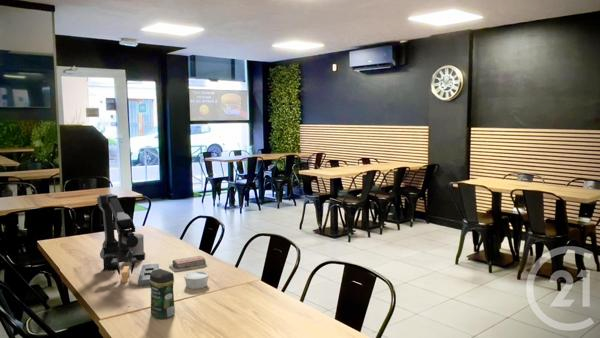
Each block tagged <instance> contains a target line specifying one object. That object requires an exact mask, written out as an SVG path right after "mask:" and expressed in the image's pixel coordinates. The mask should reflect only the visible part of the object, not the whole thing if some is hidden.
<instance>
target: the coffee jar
mask: <svg viewBox="0 0 600 338" xmlns="http://www.w3.org/2000/svg"><path fill="white" fill-rule="evenodd" d="M174 283H175V277H174V273H173V272H171V271H169V270H165V269H161V268H159V269H157V270H153V271H152V272H151V273H150V315H151V316H153V317H155V318H156V319H159V320H163V319H169V318H171V317H173V316H174V315H175V313H176V309H175V297H174Z"/></svg>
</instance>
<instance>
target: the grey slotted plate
mask: <svg viewBox="0 0 600 338" xmlns="http://www.w3.org/2000/svg"><path fill="white" fill-rule="evenodd" d="M159 267H160V264H159V263H150V264H142V266H141V269H140V273H139V276H138V279H137V287H147V286H149V287H151V285H150V273H151V272H152V271H153V270H157V269H160V268H159Z"/></svg>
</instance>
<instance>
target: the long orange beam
mask: <svg viewBox="0 0 600 338" xmlns="http://www.w3.org/2000/svg"><path fill="white" fill-rule="evenodd" d="M120 275H121V283H128V281H129V278H130V275H131V268H130V265H127V266H126V265H125V266H123V268H122V270H121V272H120Z"/></svg>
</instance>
